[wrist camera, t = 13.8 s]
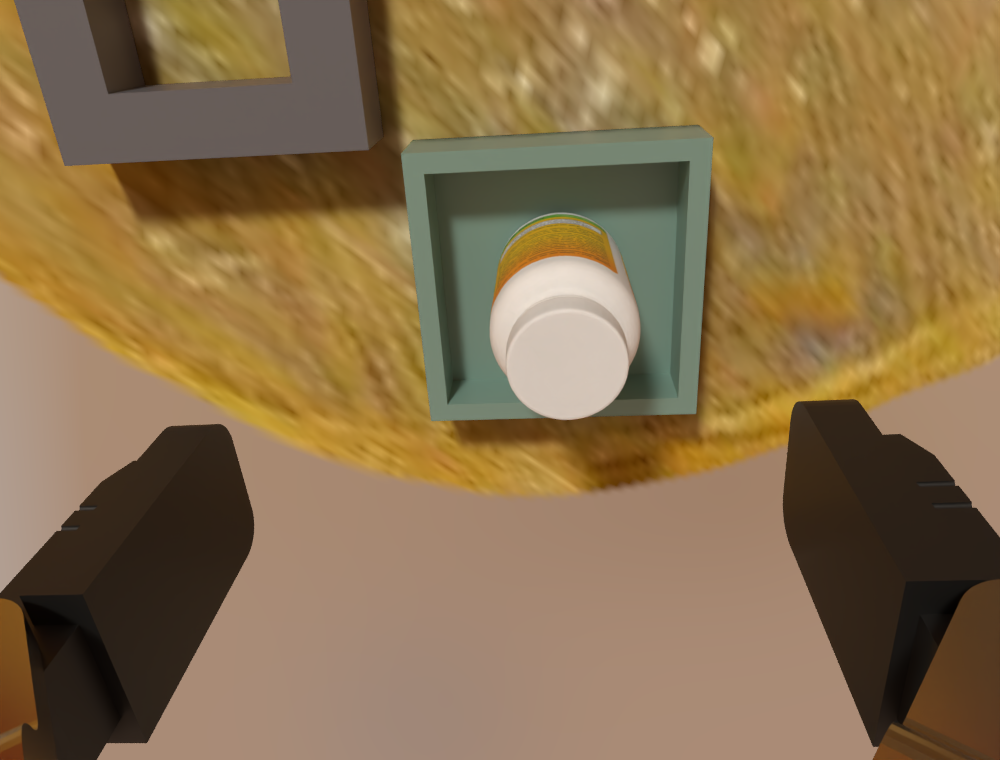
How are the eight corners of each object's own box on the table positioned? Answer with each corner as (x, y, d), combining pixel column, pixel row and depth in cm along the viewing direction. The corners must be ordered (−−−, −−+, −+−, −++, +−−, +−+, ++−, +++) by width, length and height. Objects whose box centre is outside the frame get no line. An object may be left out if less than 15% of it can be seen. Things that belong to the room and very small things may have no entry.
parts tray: (698, 124, 31) (713, 137, 28) (684, 382, 36) (696, 414, 34) (412, 140, 32) (400, 153, 29) (439, 389, 37) (431, 420, 34)
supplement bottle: (472, 258, 33) (448, 350, 25) (575, 183, 32) (588, 253, 23) (545, 351, 35) (547, 467, 26) (646, 284, 33) (684, 384, 25)
